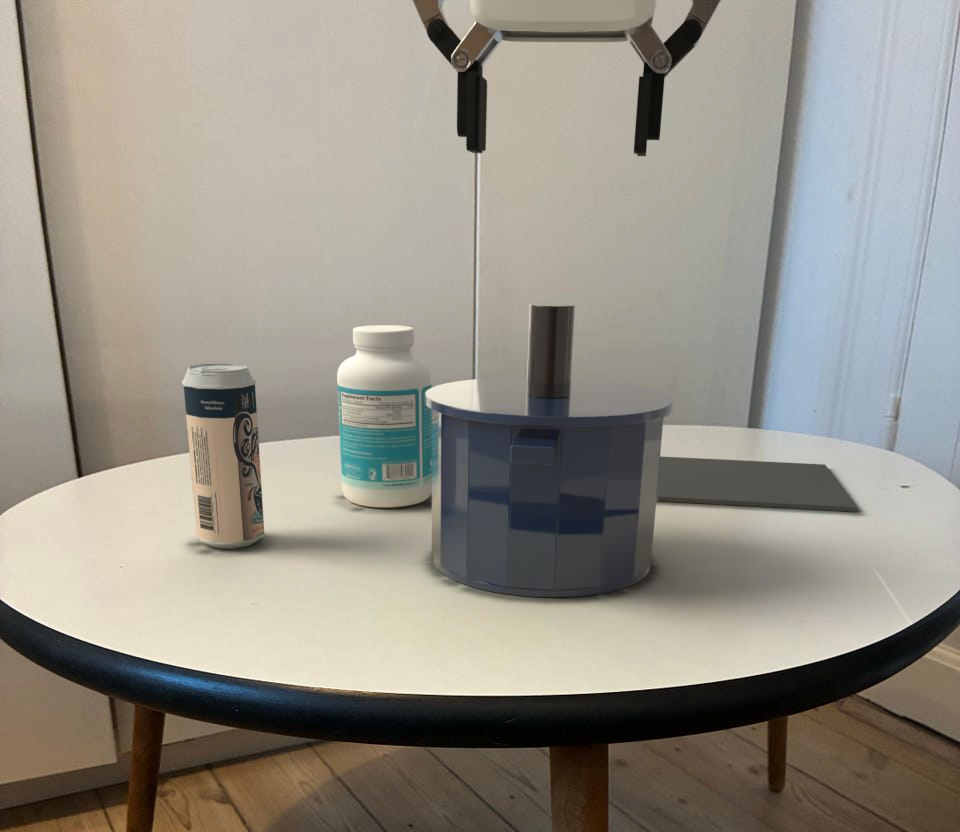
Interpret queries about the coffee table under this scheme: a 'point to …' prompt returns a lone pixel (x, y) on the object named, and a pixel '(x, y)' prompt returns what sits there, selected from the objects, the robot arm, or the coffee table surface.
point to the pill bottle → (385, 420)
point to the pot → (544, 505)
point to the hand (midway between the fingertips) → (557, 153)
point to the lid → (549, 386)
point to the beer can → (224, 454)
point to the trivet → (751, 484)
